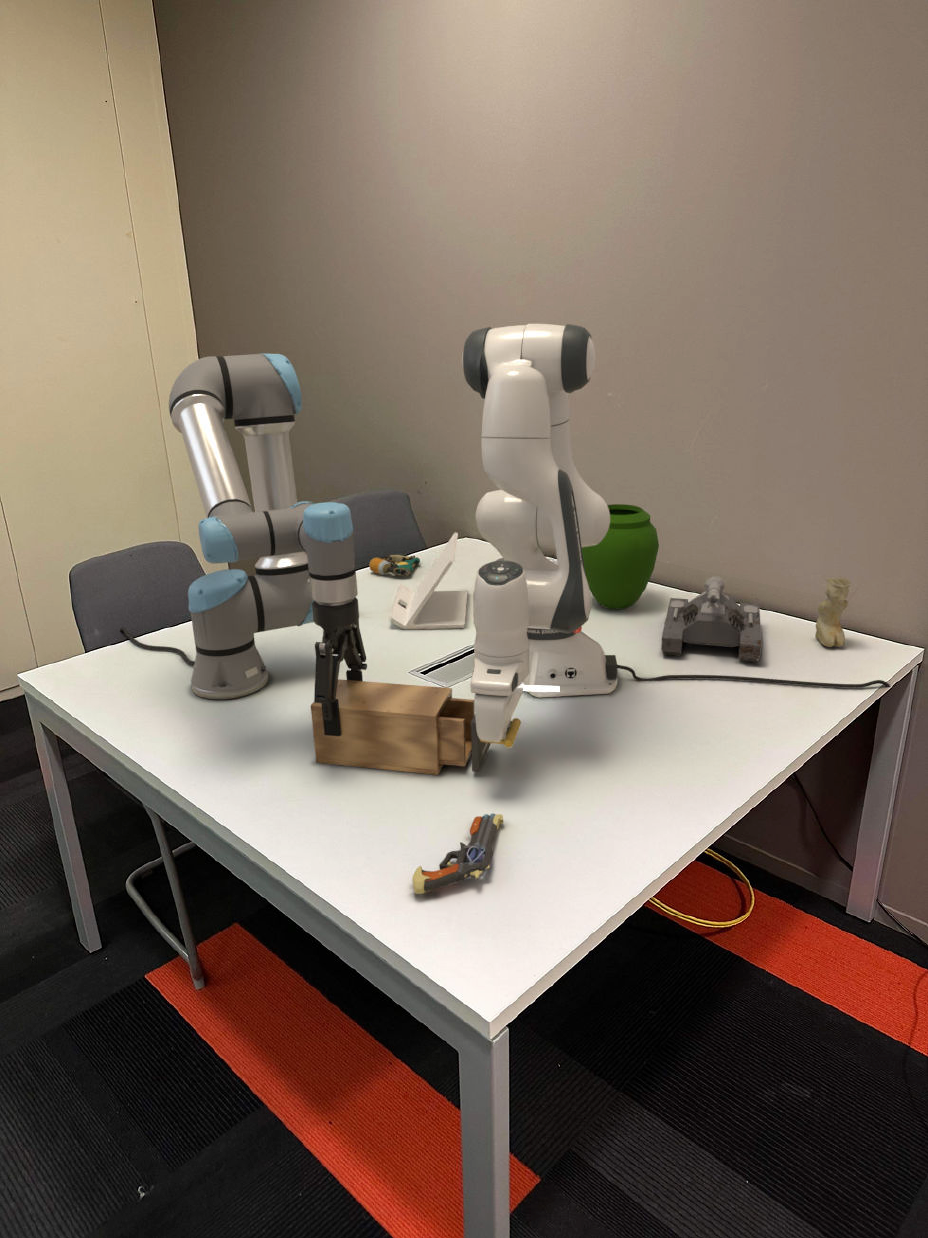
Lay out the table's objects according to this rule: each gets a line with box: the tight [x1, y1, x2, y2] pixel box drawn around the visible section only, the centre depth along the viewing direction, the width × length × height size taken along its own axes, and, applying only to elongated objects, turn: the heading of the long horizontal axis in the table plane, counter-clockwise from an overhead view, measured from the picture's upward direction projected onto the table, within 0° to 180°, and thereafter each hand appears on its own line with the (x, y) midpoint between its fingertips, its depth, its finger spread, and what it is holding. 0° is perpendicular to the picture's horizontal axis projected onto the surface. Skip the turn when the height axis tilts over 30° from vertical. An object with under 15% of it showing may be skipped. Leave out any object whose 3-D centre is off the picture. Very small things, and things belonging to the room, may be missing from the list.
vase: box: [582, 503, 660, 610], centre depth 210 cm, size 20×20×24 cm
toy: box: [660, 575, 762, 662], centre depth 188 cm, size 25×20×15 cm
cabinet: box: [310, 678, 453, 776], centre depth 146 cm, size 22×11×11 cm, turn 77°
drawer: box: [437, 697, 522, 773], centre depth 144 cm, size 26×10×9 cm, turn 77°
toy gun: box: [412, 812, 504, 895], centre depth 119 cm, size 3×19×10 cm
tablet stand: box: [388, 531, 468, 630], centre depth 211 cm, size 18×25×17 cm
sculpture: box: [814, 576, 852, 648], centre depth 185 cm, size 6×7×15 cm
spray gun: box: [369, 553, 421, 577], centre depth 246 cm, size 4×17×15 cm
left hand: (345, 719), depth 147 cm, fingers closed on cabinet, 11 cm apart
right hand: (503, 739), depth 141 cm, fingers closed, pressing on drawer
